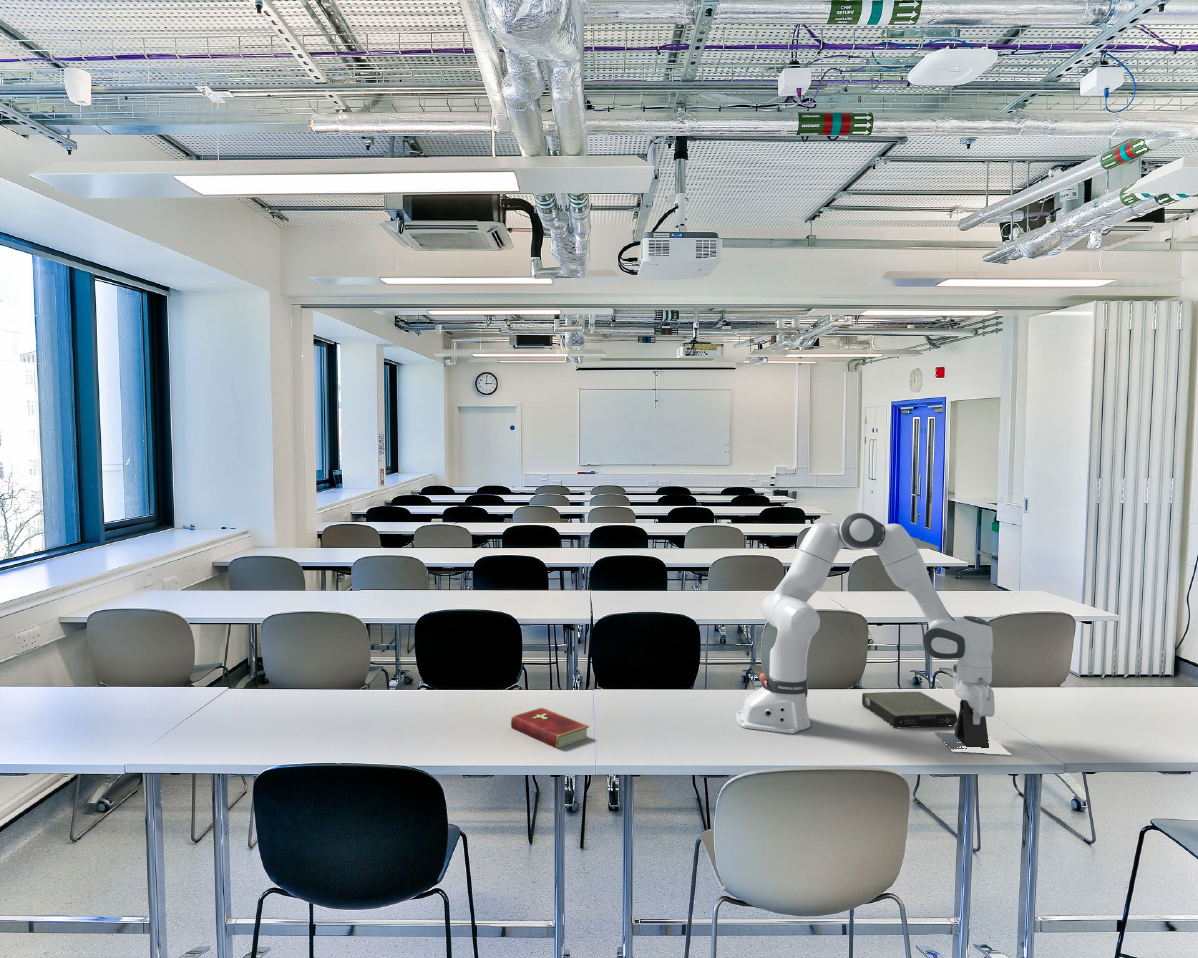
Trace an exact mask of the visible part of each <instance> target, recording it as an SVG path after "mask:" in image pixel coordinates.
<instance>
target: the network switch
mask: <svg viewBox="0 0 1198 958" xmlns="http://www.w3.org/2000/svg"><path fill="white" fill-rule="evenodd" d="M861 698H862V699H861V704H862V706H863V708H865V707H866V708H865V709H867V710H868V711H871V712H872V713H873V712H874V713H873V714H875V715H877V716H878V717H879V718H881V719H882V720H883V721H884V722H885V721H886V722H887V723H886V722H885V723H886V724H888V723H889V724H888V725H890V726H891V727H892V726H893V727H907V728H914V727H913V726H920V727H944V726H949V725H953V726H956V724H957V720H958V715H957V712H956V710H954V709H952V708H950V707H949V706H947V705H945V704H943V703H942V702H940V701H938V700H936V699H934V698H933V697H931V696H929V695H927V694H925V693H923V692H921V691H889V692H888V691H887V692H885V691H883V692H878V691H877V692H863V693H862V695H861Z"/></svg>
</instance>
